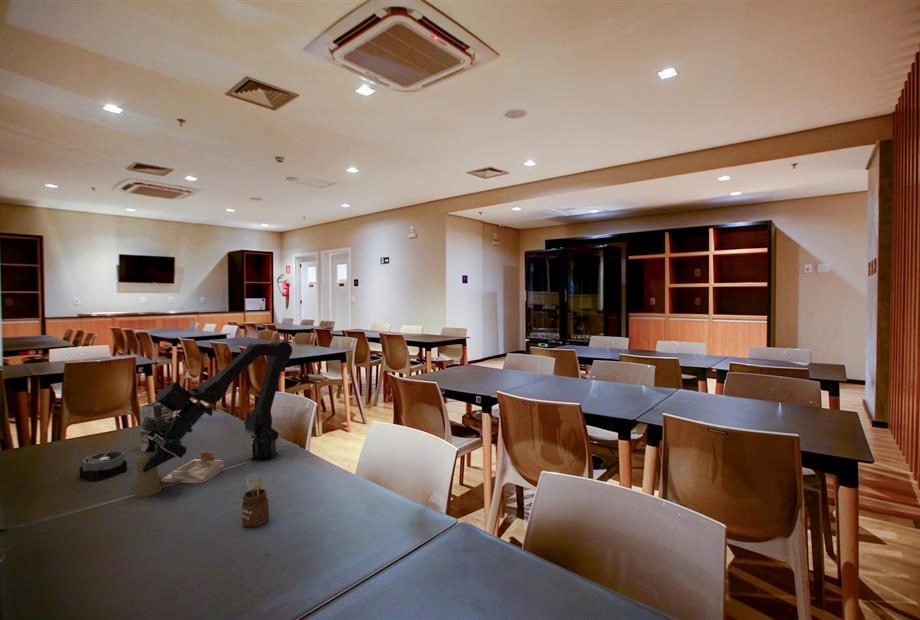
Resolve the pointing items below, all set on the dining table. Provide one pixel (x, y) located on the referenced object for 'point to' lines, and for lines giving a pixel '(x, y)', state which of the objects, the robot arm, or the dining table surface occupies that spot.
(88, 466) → the cpu cooler
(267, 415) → the robot arm
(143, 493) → the cork
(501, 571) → the dining table surface
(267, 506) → the utensil holder
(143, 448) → the coffee box
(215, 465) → the wooden box
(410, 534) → the dining table surface
